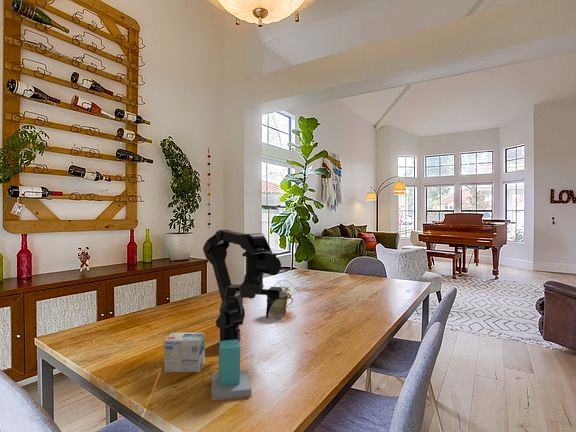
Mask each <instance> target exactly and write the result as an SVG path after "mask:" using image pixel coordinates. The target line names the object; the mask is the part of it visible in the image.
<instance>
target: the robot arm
mask: <svg viewBox="0 0 576 432" xmlns="http://www.w3.org/2000/svg"><path fill="white" fill-rule="evenodd" d="M230 243H231V244H234V245H239V246H240V248H241V249H243V251H244V252H243V253H242V254H241V256H242V257H245V274H244V277H243V278H244V280H243V282H242V283H241V284H236V283H235V284H233V283H232V281H231V278H230V274H229V270H228V267H227V264H226V259H227V257H228V251H227V250H228V249H229V247H230V245H231V244H230ZM202 250H203V253H204V256H205V259H206V261H208V262H209V263H210V264H211V266H212V268H213V271H214V273H213V274H214V276H215V277H214V278H215V280H216V283H217V287H218V291H219V295H220V299H221V303H220V307H219V316H218V318H217V319H216V320H215V326H216V328H218V329H219V341H226V340H237V339H238V342H240V341H241V329H240V326H242V325H243V324H244V320H245V317H246V316H245V315H246V311H245V308H244V307H245V306H244V303H243V301H244V300H243V299H245V298H246V299H247V298H248V299H250V300H251V299H255V298H256V295H260V296H266V298H267V297H268V299H266V312H265V318H266V319H268V318H269V317H270V311H271V308H272V305H273V303H274V301H276V300H277V299H280V298H281V297H282V296H283V292H284V289H283V288H282V287H280V286H270V288H268V289H267V288H264V286H265V285H264V278H263V277H264V275H265V274H266V275H270V276H276V275H278V274H279V273H280V271H281V268H282V263H281V261H280V258H279V257H277V253H276V252H272V248H271V247H270V245H269V243H268V241H267V238H266V237H265V234H264V233H261V232H259V233H242V232H238V231H234V230H230V229H219V230H217V231H216V232H215V233H214V234H213V235H212V236H211V237H210V238H208V239H207V240H206V242H205V243H204V244H203V246H202ZM217 345H218V346H219V342H218V343H217Z"/></svg>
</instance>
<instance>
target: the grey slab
mask: <svg viewBox="0 0 576 432" xmlns="http://www.w3.org/2000/svg"><path fill="white" fill-rule="evenodd" d="M218 373H219V372H213V373H211V402H213V401H221V400H222V401H223V400H231V399H238V398H246V397H247V398H248V397H252V391H253V390H252V385H251V380H250V376H249V371H248V370H247V369H244V370H240V384H238V385H231V386H224V387H220V383H219V378H218Z"/></svg>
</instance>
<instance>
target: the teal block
mask: <svg viewBox="0 0 576 432" xmlns="http://www.w3.org/2000/svg"><path fill="white" fill-rule="evenodd" d="M239 342H240V341H239ZM239 342H238V339H237V340H226V341H220V340H219V341H218V343H219V345H218V372H217V373H218V378H219V383H220V387H224V386H231V385H238V384H240V371H241V345H240V343H239Z"/></svg>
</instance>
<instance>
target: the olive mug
mask: <svg viewBox="0 0 576 432" xmlns="http://www.w3.org/2000/svg"><path fill="white" fill-rule="evenodd" d="M266 298H267V299H268V297H267V296H266ZM267 299H266V300H267ZM289 299H291V302H290V303H288V300H289ZM287 303H288V304H287ZM292 303H294V300H293V298H292V297H291V296H289V293H288V292H286V291H283V296H282V297H281V298H280V299H277V300H276V301H274V303H273V305H272V308H271V311H270V314H269V316H271V317H272V318H277V319H278V318H283V317H285V314H286V309H287V307H289V306H290V305H291V304H292Z"/></svg>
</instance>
